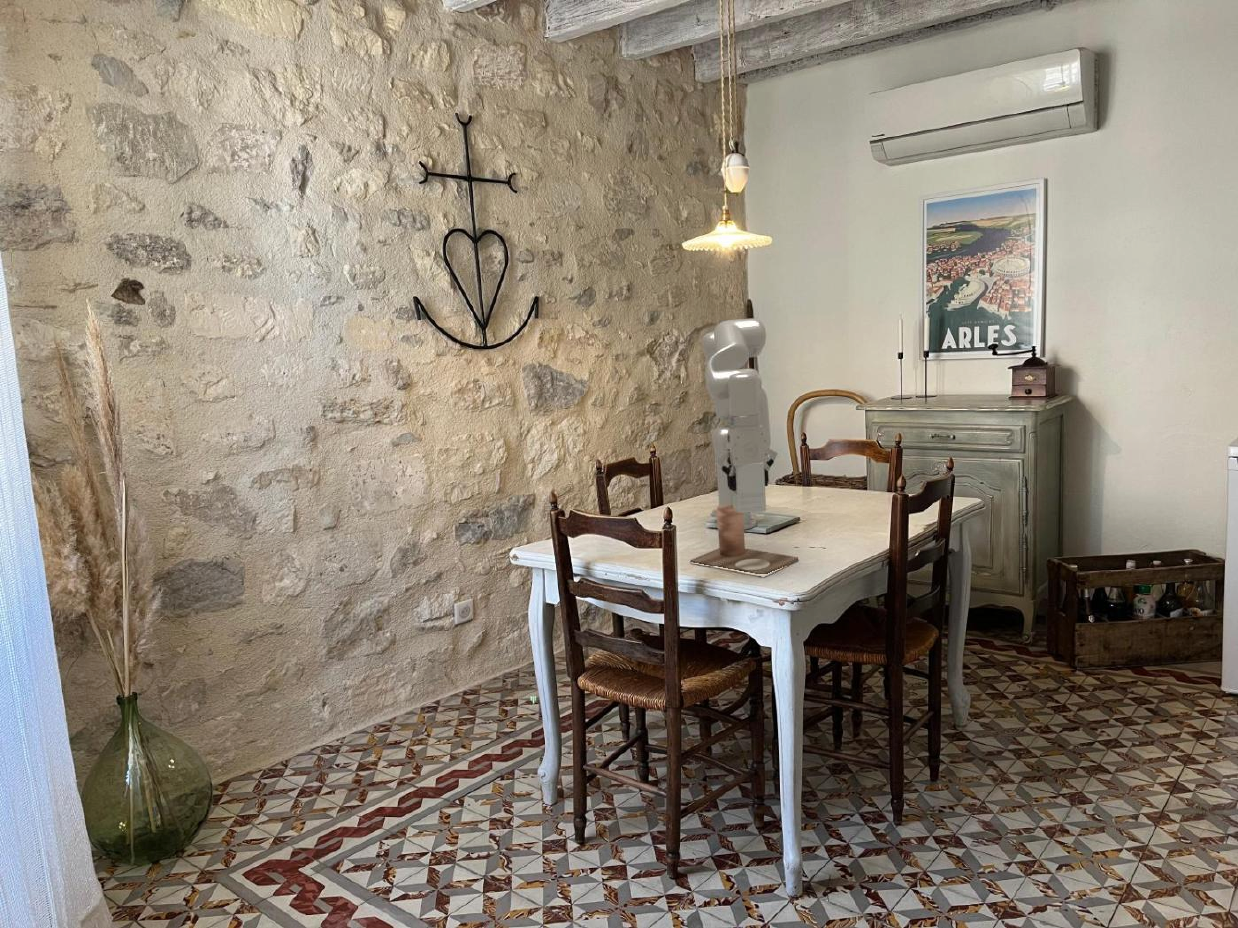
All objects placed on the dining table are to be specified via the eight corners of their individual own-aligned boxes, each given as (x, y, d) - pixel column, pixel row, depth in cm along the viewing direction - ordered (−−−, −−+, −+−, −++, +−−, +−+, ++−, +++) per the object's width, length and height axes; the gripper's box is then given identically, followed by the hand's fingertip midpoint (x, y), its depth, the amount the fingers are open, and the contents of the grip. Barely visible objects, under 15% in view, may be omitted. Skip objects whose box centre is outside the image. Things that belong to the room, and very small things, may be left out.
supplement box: (760, 506, 248) (758, 459, 246) (766, 511, 240) (764, 462, 239) (732, 508, 247) (730, 460, 246) (738, 513, 240) (735, 464, 238)
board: (690, 563, 256) (687, 513, 253) (726, 548, 267) (723, 500, 264) (763, 577, 239) (761, 524, 237) (798, 560, 250) (796, 510, 248)
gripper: (719, 427, 234) (723, 495, 237) (782, 418, 239) (785, 485, 242) (707, 423, 241) (711, 489, 244) (768, 415, 246) (772, 480, 249)
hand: (748, 487), depth 243 cm, fingers closed on supplement box, 8 cm apart
